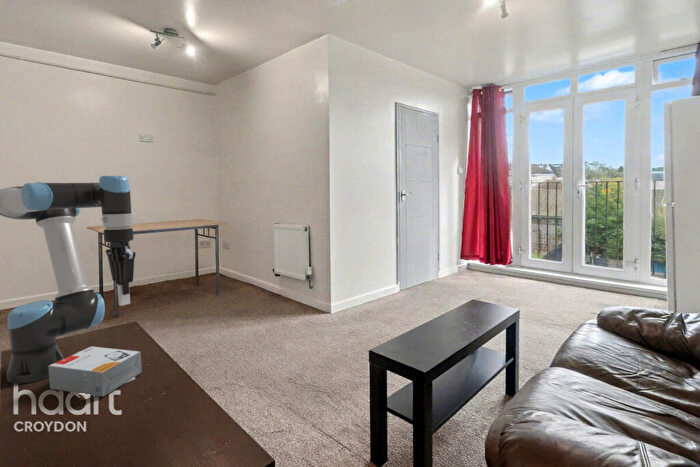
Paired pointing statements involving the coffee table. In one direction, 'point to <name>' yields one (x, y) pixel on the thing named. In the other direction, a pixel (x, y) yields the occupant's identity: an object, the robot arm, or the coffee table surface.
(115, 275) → the robot arm
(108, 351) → the hard drive box
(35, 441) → the coffee table surface
